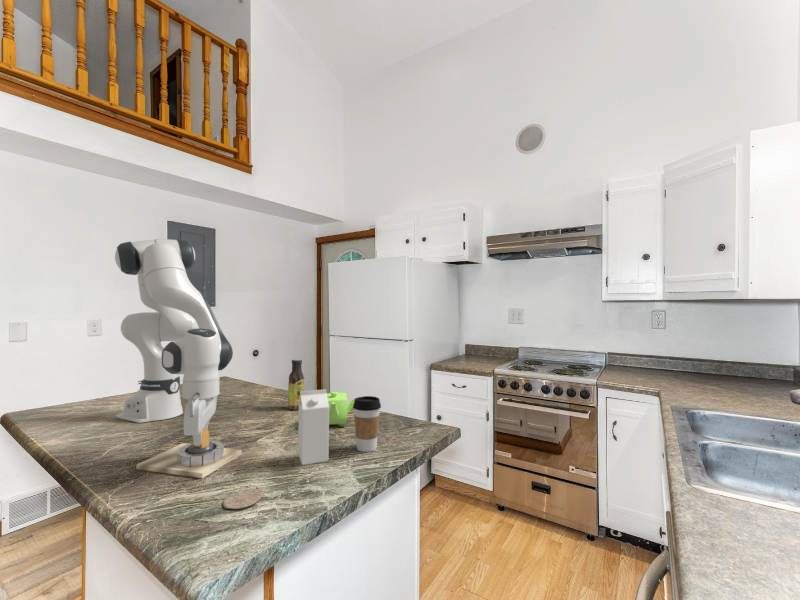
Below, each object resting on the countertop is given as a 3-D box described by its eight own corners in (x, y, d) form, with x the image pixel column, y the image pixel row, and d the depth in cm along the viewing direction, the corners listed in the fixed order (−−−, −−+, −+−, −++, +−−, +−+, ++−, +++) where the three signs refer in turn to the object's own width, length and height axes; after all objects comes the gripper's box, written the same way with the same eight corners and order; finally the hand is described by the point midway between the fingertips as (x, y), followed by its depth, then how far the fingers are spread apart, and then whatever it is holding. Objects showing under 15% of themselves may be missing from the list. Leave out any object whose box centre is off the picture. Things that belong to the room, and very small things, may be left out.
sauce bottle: (299, 411, 149) (299, 361, 149) (284, 410, 150) (285, 360, 150) (306, 406, 155) (307, 358, 156) (292, 405, 157) (293, 358, 157)
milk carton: (298, 455, 106) (298, 388, 106) (323, 451, 109) (323, 386, 109) (302, 465, 100) (302, 394, 100) (328, 461, 102) (329, 392, 103)
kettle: (333, 433, 124) (333, 399, 124) (304, 425, 132) (304, 393, 132) (362, 421, 137) (362, 390, 137) (333, 415, 145) (334, 385, 145)
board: (136, 469, 97) (136, 464, 97) (182, 447, 111) (182, 443, 111) (202, 478, 92) (202, 473, 92) (241, 454, 107) (241, 450, 107)
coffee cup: (347, 451, 110) (348, 399, 110) (360, 441, 118) (360, 393, 118) (373, 455, 107) (374, 402, 107) (384, 444, 115) (385, 395, 115)
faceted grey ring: (167, 464, 97) (167, 454, 97) (199, 448, 108) (199, 439, 108) (203, 468, 95) (203, 458, 95) (231, 452, 105) (231, 443, 105)
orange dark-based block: (183, 454, 100) (183, 431, 100) (204, 447, 105) (205, 425, 105) (196, 459, 97) (196, 436, 97) (217, 451, 102) (218, 429, 102)
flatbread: (242, 489, 87) (242, 485, 87) (268, 495, 85) (268, 491, 85) (213, 507, 80) (213, 503, 80) (241, 515, 77) (241, 510, 77)
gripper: (205, 398, 92) (204, 454, 92) (221, 381, 112) (220, 427, 111) (176, 399, 90) (175, 457, 90) (197, 382, 110) (197, 429, 110)
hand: (200, 440), depth 101 cm, fingers closed on orange dark-based block, 4 cm apart
